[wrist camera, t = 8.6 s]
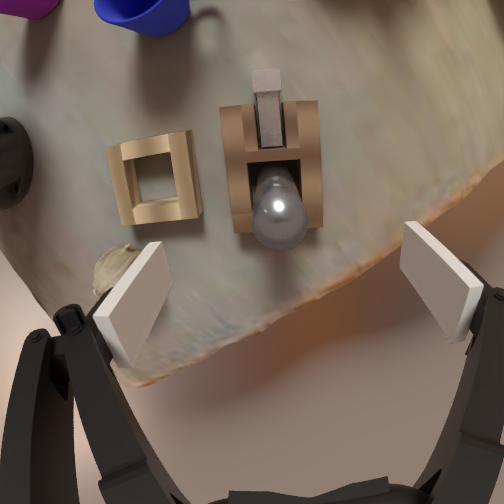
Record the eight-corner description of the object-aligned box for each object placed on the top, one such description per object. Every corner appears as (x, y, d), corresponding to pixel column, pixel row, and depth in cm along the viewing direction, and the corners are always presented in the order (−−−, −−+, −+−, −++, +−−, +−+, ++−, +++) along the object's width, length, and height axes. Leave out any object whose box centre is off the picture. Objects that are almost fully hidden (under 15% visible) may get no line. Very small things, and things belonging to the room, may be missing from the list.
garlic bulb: (148, 281, 44) (127, 337, 37) (102, 255, 41) (74, 308, 34) (174, 252, 39) (151, 315, 32) (120, 219, 35) (85, 279, 28)
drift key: (253, 78, 29) (251, 70, 24) (277, 76, 29) (279, 68, 23) (260, 145, 32) (259, 151, 27) (283, 143, 32) (286, 149, 27)
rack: (131, 217, 37) (122, 226, 34) (117, 144, 33) (105, 147, 30) (203, 209, 36) (198, 218, 34) (191, 129, 32) (185, 131, 29)
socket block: (223, 108, 31) (219, 107, 28) (312, 102, 30) (317, 100, 27) (237, 222, 37) (234, 233, 34) (317, 216, 36) (322, 227, 33)
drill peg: (259, 197, 35) (254, 252, 22) (256, 164, 34) (249, 199, 20) (292, 194, 35) (309, 248, 21) (290, 161, 33) (307, 195, 20)
